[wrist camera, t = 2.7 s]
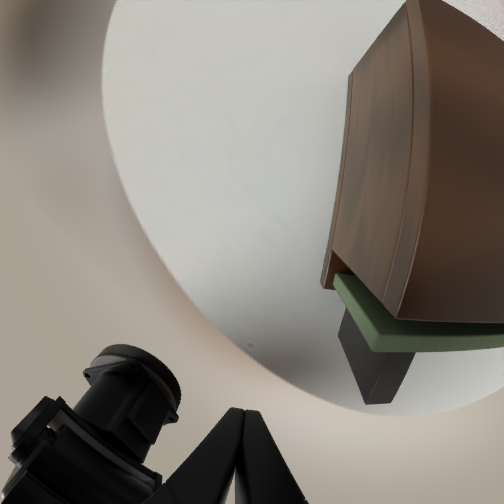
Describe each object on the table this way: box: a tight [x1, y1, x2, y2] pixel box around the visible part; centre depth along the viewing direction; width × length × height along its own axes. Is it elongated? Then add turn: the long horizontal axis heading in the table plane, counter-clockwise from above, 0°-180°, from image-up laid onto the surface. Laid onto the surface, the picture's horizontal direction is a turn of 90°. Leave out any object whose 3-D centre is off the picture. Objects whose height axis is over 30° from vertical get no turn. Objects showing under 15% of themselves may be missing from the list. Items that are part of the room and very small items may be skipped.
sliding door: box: [333, 273, 504, 405], centre depth 11 cm, size 3×9×6 cm, turn 82°
